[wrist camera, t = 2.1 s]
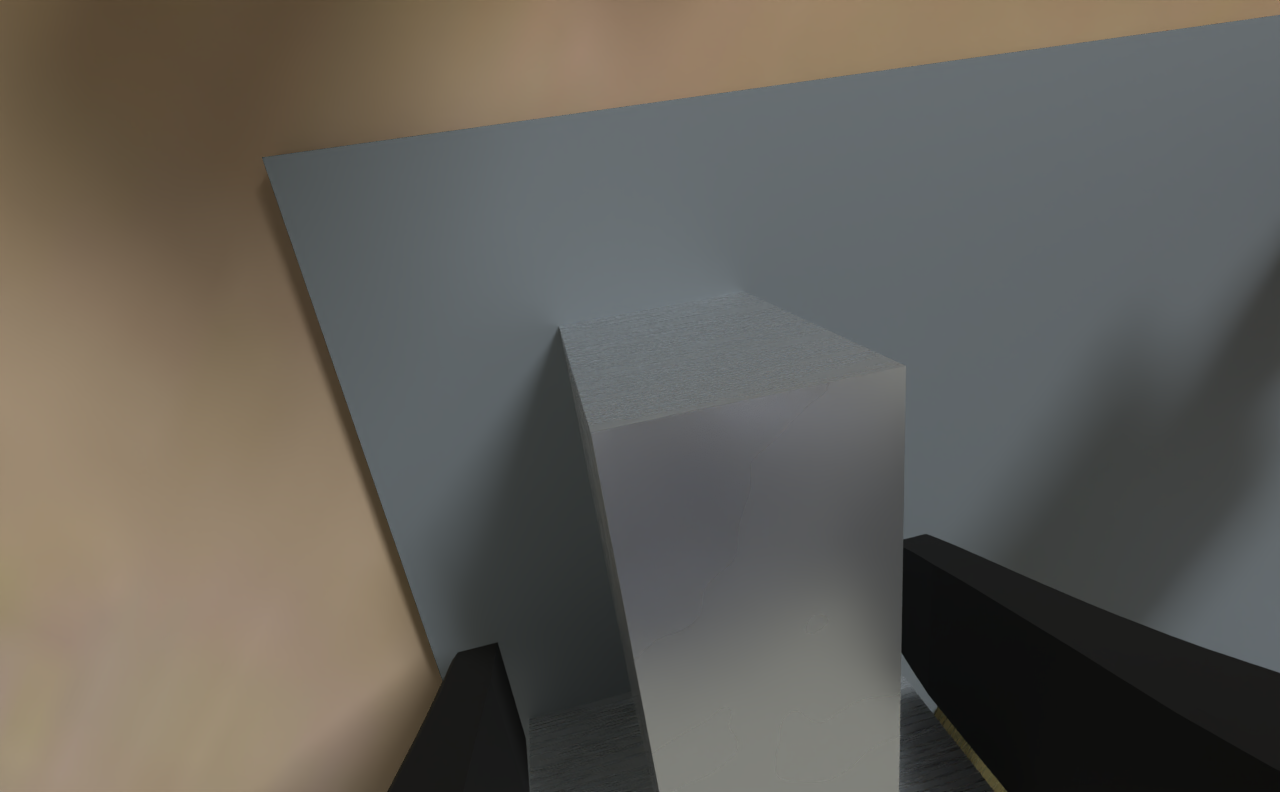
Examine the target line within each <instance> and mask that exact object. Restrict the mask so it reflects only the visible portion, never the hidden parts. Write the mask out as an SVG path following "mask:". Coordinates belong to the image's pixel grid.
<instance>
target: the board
mask: <svg viewBox="0 0 1280 792" xmlns="http://www.w3.org/2000/svg"><path fill="white" fill-rule="evenodd" d="M262 159H263V162H264V165H265V168H266V171H267V173H268V176H269V179H270V182H271V185H272V188H273V191H274V194H275V197H276V199H277V202H278V205H279V208H280V211H281V214H282V217H283V220H284V223H285V226H286V228H287V231H288V234H289V237H290V240H291V243H292V246H293V249H294V252H295V255H296V257H297V260H298V263H299V266H300V269H301V272H302V275H303V278H304V281H305V284H306V286H307V289H308V292H309V295H310V298H311V301H312V304H313V307H314V310H315V313H316V315H317V318H318V321H319V324H320V327H321V330H322V333H323V336H324V339H325V342H326V344H327V347H328V350H329V353H330V356H331V359H332V362H333V365H334V368H335V371H336V373H337V376H338V379H339V382H340V385H341V388H342V391H343V394H344V397H345V399H346V402H347V405H348V408H349V411H350V414H351V417H352V420H353V423H354V426H355V428H356V431H357V434H358V437H359V440H360V443H361V446H362V449H363V452H364V455H365V457H366V460H367V463H368V466H369V469H370V472H371V475H372V478H373V481H374V484H375V486H376V489H377V492H378V495H379V498H380V501H381V504H382V507H383V510H384V513H385V515H386V518H387V521H388V524H389V527H390V530H391V533H392V536H393V539H394V542H395V544H396V547H397V550H398V553H399V556H400V559H401V562H402V565H403V568H404V570H405V573H406V576H407V579H408V582H409V585H410V588H411V591H412V594H413V597H414V599H415V602H416V605H417V608H418V611H419V614H420V617H421V620H422V623H423V626H424V628H425V631H426V634H427V637H428V640H429V643H430V646H431V649H432V652H433V655H434V657H435V660H436V663H437V666H438V669H439V672H440V675H441V678H442V681H443V679H444V677H445V675H446V673H447V670H448V668H449V666H450V664H451V661H452V660H453V658H454V657H455V655H456V654H457V653H458V652H461V651H465V650H469V649H473V648H477V647H481V646H485V645H489V644H493V643H497V642H498V645H499V648H500V652H501V655H502V659H503V662H504V665H505V669H506V672H507V676H508V679H509V682H510V686H511V689H512V693H513V696H514V700H515V703H516V706H517V710H518V713H519V717H520V720H521V723H522V727H523V730H524V734H525V737H526V746H527V760H528V774H529V789H530V792H531V786H530V740H529V719H532V718H535V717H539V716H543V715H546V714H550V713H554V712H557V711H561V710H565V709H568V708H572V707H576V706H579V705H583V704H587V703H590V702H594V701H598V700H601V699H605V698H609V697H612V696H616V695H620V694H624V693H627V692H631V688H630V683H629V678H628V673H627V668H626V663H625V658H624V653H623V647H622V642H621V637H620V632H619V627H618V622H617V617H616V612H615V607H614V602H613V597H612V592H611V587H610V582H609V577H608V572H607V567H606V562H605V556H604V551H603V546H602V541H601V536H600V531H599V526H598V521H597V516H596V511H595V506H594V501H593V496H592V491H591V486H590V481H589V476H588V471H587V465H586V460H585V455H584V450H583V445H582V440H581V435H580V430H579V425H578V420H577V415H576V410H575V405H574V400H573V395H572V390H571V385H570V380H569V374H568V369H567V364H566V359H565V354H564V349H563V344H562V339H561V334H560V329H559V326H563V325H568V324H574V323H579V322H585V321H590V320H595V319H601V318H606V317H611V316H617V315H622V314H627V313H633V312H638V311H643V310H649V309H654V308H660V307H665V306H670V305H676V304H681V303H686V302H692V301H697V300H702V299H708V298H713V297H719V296H724V295H729V294H735V293H740V292H746V293H748V294H750V295H752V296H754V297H757V298H759V299H761V300H763V301H765V302H767V303H770V304H772V305H774V306H776V307H778V308H781V309H783V310H785V311H787V312H789V313H791V314H794V315H796V316H798V317H800V318H802V319H805V320H807V321H809V322H811V323H813V324H815V325H818V326H820V327H822V328H824V329H826V330H829V331H831V332H833V333H835V334H837V335H839V336H842V337H844V338H846V339H848V340H850V341H852V342H855V343H857V344H859V345H861V346H863V347H866V348H868V349H870V350H872V351H874V352H876V353H879V354H881V355H883V356H885V357H887V358H890V359H892V360H894V361H896V362H898V363H900V364H903V365H905V366H906V400H905V460H904V520H903V539H907V538H911V537H915V536H919V535H923V534H928V535H931V536H933V537H936V538H939V539H941V540H944V541H946V542H949V543H951V544H953V545H956V546H958V547H960V548H963V549H965V550H967V551H970V552H972V553H974V554H976V555H979V556H981V557H983V558H985V559H988V560H990V561H992V562H994V563H997V564H999V565H1001V566H1003V567H1006V568H1008V569H1010V570H1012V571H1015V572H1017V573H1019V574H1022V575H1024V576H1026V577H1028V578H1031V579H1033V580H1035V581H1037V582H1040V583H1042V584H1044V585H1047V586H1049V587H1051V588H1054V589H1056V590H1058V591H1061V592H1063V593H1065V594H1068V595H1070V596H1072V597H1075V598H1077V599H1079V600H1082V601H1084V602H1087V603H1089V604H1092V605H1094V606H1096V607H1099V608H1101V609H1104V610H1106V611H1109V612H1111V613H1114V614H1116V615H1119V616H1121V617H1124V618H1126V619H1129V620H1132V621H1134V622H1137V623H1139V624H1142V625H1144V626H1147V627H1150V628H1152V629H1155V630H1157V631H1160V632H1163V633H1165V634H1168V635H1170V636H1173V637H1176V638H1179V639H1181V640H1184V641H1187V642H1190V643H1193V644H1195V645H1198V646H1201V647H1204V648H1207V649H1209V650H1212V651H1215V652H1218V653H1222V654H1225V655H1228V656H1231V657H1234V658H1237V659H1240V660H1243V661H1246V662H1249V663H1252V664H1255V665H1258V666H1261V667H1264V668H1267V669H1270V670H1273V671H1276V672H1279V673H1280V15H1276V16H1269V17H1262V18H1255V19H1248V20H1241V21H1234V22H1226V23H1219V24H1212V25H1205V26H1198V27H1191V28H1184V29H1176V30H1169V31H1162V32H1155V33H1148V34H1141V35H1133V36H1126V37H1119V38H1112V39H1105V40H1098V41H1091V42H1083V43H1076V44H1069V45H1062V46H1055V47H1048V48H1041V49H1033V50H1026V51H1019V52H1012V53H1005V54H998V55H991V56H983V57H976V58H969V59H962V60H955V61H948V62H941V63H933V64H926V65H919V66H912V67H905V68H898V69H891V70H883V71H876V72H869V73H862V74H855V75H848V76H840V77H833V78H826V79H819V80H812V81H805V82H798V83H790V84H783V85H776V86H769V87H762V88H755V89H748V90H740V91H733V92H726V93H719V94H712V95H705V96H698V97H690V98H683V99H676V100H669V101H662V102H655V103H648V104H640V105H633V106H626V107H619V108H612V109H605V110H597V111H590V112H583V113H576V114H569V115H562V116H555V117H547V118H540V119H533V120H526V121H519V122H512V123H505V124H497V125H490V126H483V127H476V128H469V129H462V130H455V131H447V132H440V133H433V134H426V135H419V136H412V137H405V138H397V139H390V140H383V141H376V142H369V143H362V144H354V145H347V146H340V147H333V148H326V149H319V150H312V151H304V152H297V153H290V154H283V155H276V156H269V157H262ZM901 674H902V675H903V676H904V678H905V679H906V680H907V681H908V683H909V684H910V685H911V686H912V688H913V689H914V690H915V692H916V693H917V694H918V695H919V697H920V698H921V699H922V700H923V702H924V703H925V704H926V705H927V707H928V708H929V709H930V711H931V712H932V713H933V714H934V712H935V710H936V709H937V707H938V706H937V705H936V704H935V702H934V701H933V700H932V699H931V697H930V696H929V695H928V693H927V692H926V690H925V689H924V687H923V686H922V684H921V683H920V681H919V680H918V678H917V677H916V675H915V674H914V672H913V671H912V669H911V667H910V666H909V664H908V663H907V661H906V659H905V658H904V656H903V655H902V653H901Z"/></svg>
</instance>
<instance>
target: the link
mask: <svg viewBox="0 0 1280 792" xmlns="http://www.w3.org/2000/svg"><path fill="white" fill-rule="evenodd" d="M559 329H560V334H561V339H562V344H563V349H564V354H565V359H566V364H567V369H568V374H569V380H570V385H571V390H572V395H573V400H574V405H575V410H576V415H577V420H578V425H579V430H580V435H581V440H582V445H583V450H584V455H585V460H586V465H587V471H588V476H589V481H590V486H591V491H592V496H593V501H594V506H595V511H596V516H597V521H598V526H599V531H600V536H601V541H602V546H603V551H604V556H605V562H606V567H607V572H608V577H609V582H610V587H611V592H612V597H613V602H614V607H615V612H616V617H617V622H618V627H619V632H620V637H621V642H622V647H623V653H624V658H625V663H626V668H627V673H628V678H629V683H630V688H631V692H627V693H624V694H620V695H616V696H612V697H609V698H605V699H601V700H598V701H594V702H590V703H587V704H583V705H579V706H576V707H572V708H568V709H565V710H561V711H557V712H554V713H550V714H546V715H543V716H539V717H535V718H532V719H529V740H530V786H531V792H994V790H993V789H992V788H991V786H990V785H989V784H988V783H987V781H986V780H985V779H984V778H983V776H982V775H981V774H980V773H979V771H978V770H977V769H976V768H975V766H974V765H973V764H972V762H971V761H970V760H969V759H968V757H967V756H966V755H965V754H964V752H963V751H962V750H961V749H960V747H959V746H958V745H957V743H956V742H955V741H954V740H953V738H952V737H951V736H950V735H949V733H948V732H947V731H946V730H945V728H944V727H943V726H942V724H941V723H940V722H939V721H938V719H937V718H936V717H935V716H934V714H933V713H932V712H931V711H930V709H929V708H928V707H927V705H926V704H925V703H924V702H923V700H922V699H921V698H920V697H919V695H918V694H917V693H916V692H915V690H914V689H913V688H912V686H911V685H910V684H909V683H908V681H907V680H906V679H905V678H904V676H903V675H902V674H901V641H902V581H903V520H904V460H905V400H906V366H905V365H903V364H900V363H898V362H896V361H894V360H892V359H890V358H887V357H885V356H883V355H881V354H879V353H876V352H874V351H872V350H870V349H868V348H866V347H863V346H861V345H859V344H857V343H855V342H852V341H850V340H848V339H846V338H844V337H842V336H839V335H837V334H835V333H833V332H831V331H829V330H826V329H824V328H822V327H820V326H818V325H815V324H813V323H811V322H809V321H807V320H805V319H802V318H800V317H798V316H796V315H794V314H791V313H789V312H787V311H785V310H783V309H781V308H778V307H776V306H774V305H772V304H770V303H767V302H765V301H763V300H761V299H759V298H757V297H754V296H752V295H750V294H748V293H746V292H740V293H735V294H729V295H724V296H719V297H713V298H708V299H702V300H697V301H692V302H686V303H681V304H676V305H670V306H665V307H660V308H654V309H649V310H643V311H638V312H633V313H627V314H622V315H617V316H611V317H606V318H601V319H595V320H590V321H585V322H579V323H574V324H568V325H563V326H559Z"/></svg>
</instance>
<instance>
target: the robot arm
mask: <svg viewBox="0 0 1280 792" xmlns="http://www.w3.org/2000/svg"><path fill="white" fill-rule="evenodd" d="M901 653H902V655H903V656H904V658H905V659H906V661H907V663H908V664H909V666H910V667H911V669H912V671H913V672H914V674H915V675H916V677H917V678H918V680H919V681H920V683H921V684H922V686H923V687H924V689H925V690H926V692H927V693H928V695H929V696H930V697H931V699H932V700H933V701H934V702H935V704H936V705H937V706H938V707H939V709H940V710H941V711H942V712H943V714H944V715H945V716H946V717H947V719H948V720H949V721H950V722H951V724H952V725H953V726H954V727H955V729H956V730H957V731H958V732H959V733H960V735H961V736H962V737H963V738H964V740H965V741H966V742H967V743H968V745H969V746H970V747H971V748H972V749H973V751H974V752H975V753H976V754H977V756H978V757H979V758H980V759H981V760H982V762H983V763H984V764H985V765H986V766H987V768H988V769H989V770H990V771H991V773H992V774H993V775H994V776H995V777H996V779H997V780H998V781H999V782H1000V784H1001V785H1002V786H1003V787H1004V788H1005V790H1006V791H1007V792H1280V673H1279V672H1276V671H1273V670H1270V669H1267V668H1264V667H1261V666H1258V665H1255V664H1252V663H1249V662H1246V661H1243V660H1240V659H1237V658H1234V657H1231V656H1228V655H1225V654H1222V653H1218V652H1215V651H1212V650H1209V649H1207V648H1204V647H1201V646H1198V645H1195V644H1193V643H1190V642H1187V641H1184V640H1181V639H1179V638H1176V637H1173V636H1170V635H1168V634H1165V633H1163V632H1160V631H1157V630H1155V629H1152V628H1150V627H1147V626H1144V625H1142V624H1139V623H1137V622H1134V621H1132V620H1129V619H1126V618H1124V617H1121V616H1119V615H1116V614H1114V613H1111V612H1109V611H1106V610H1104V609H1101V608H1099V607H1096V606H1094V605H1092V604H1089V603H1087V602H1084V601H1082V600H1079V599H1077V598H1075V597H1072V596H1070V595H1068V594H1065V593H1063V592H1061V591H1058V590H1056V589H1054V588H1051V587H1049V586H1047V585H1044V584H1042V583H1040V582H1037V581H1035V580H1033V579H1031V578H1028V577H1026V576H1024V575H1022V574H1019V573H1017V572H1015V571H1012V570H1010V569H1008V568H1006V567H1003V566H1001V565H999V564H997V563H994V562H992V561H990V560H988V559H985V558H983V557H981V556H979V555H976V554H974V553H972V552H970V551H967V550H965V549H963V548H960V547H958V546H956V545H953V544H951V543H949V542H946V541H944V540H941V539H939V538H936V537H933V536H931V535H928V534H923V535H919V536H915V537H911V538H907V539H903V581H902V641H901ZM388 792H530V789H529V774H528V760H527V746H526V737H525V734H524V730H523V727H522V723H521V720H520V717H519V713H518V710H517V706H516V703H515V700H514V696H513V693H512V689H511V686H510V682H509V679H508V676H507V672H506V669H505V665H504V662H503V659H502V655H501V652H500V648H499V645H498V642H497V643H493V644H489V645H485V646H481V647H477V648H473V649H469V650H465V651H461V652H458V653H457V654H456V655H455V657H454V658H453V660H452V661H451V664H450V666H449V668H448V670H447V673H446V675H445V677H444V679H443V681H442V684H441V686H440V688H439V690H438V692H437V695H436V697H435V699H434V701H433V703H432V705H431V707H430V709H429V711H428V713H427V716H426V718H425V720H424V722H423V724H422V726H421V728H420V730H419V732H418V734H417V736H416V738H415V740H414V742H413V744H412V746H411V748H410V749H409V751H408V753H407V755H406V757H405V759H404V761H403V763H402V765H401V767H400V769H399V771H398V772H397V774H396V776H395V778H394V780H393V782H392V784H391V786H390V788H389V790H388Z"/></svg>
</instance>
